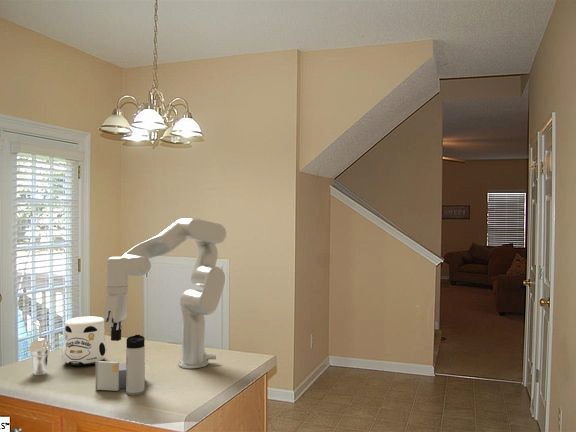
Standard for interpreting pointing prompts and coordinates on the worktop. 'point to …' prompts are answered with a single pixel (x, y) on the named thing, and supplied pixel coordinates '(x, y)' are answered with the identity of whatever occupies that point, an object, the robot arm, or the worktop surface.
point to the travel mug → (135, 365)
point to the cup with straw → (39, 353)
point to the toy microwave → (122, 375)
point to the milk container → (84, 341)
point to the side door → (107, 375)
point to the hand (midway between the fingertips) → (115, 340)
